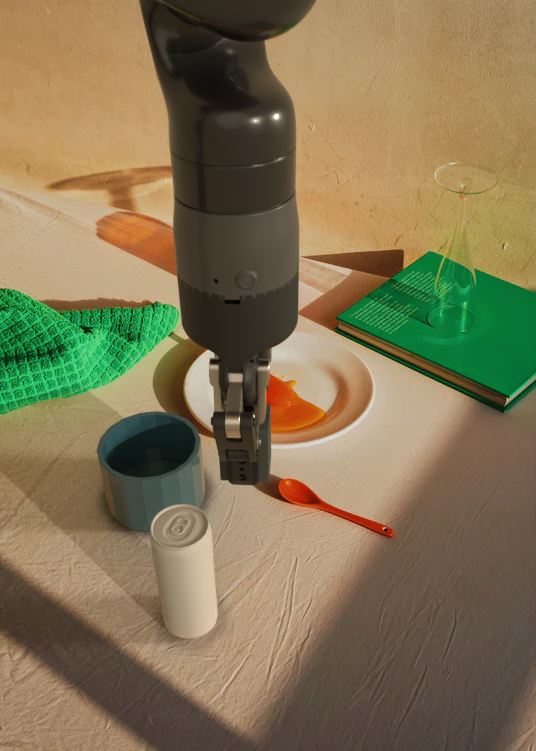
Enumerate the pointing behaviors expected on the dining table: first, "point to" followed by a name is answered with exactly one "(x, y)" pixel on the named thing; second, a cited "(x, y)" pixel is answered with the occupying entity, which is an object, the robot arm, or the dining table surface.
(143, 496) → the teal round container
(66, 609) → the dining table surface
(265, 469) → the dark gray rectangular block
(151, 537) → the beverage can
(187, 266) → the robot arm
